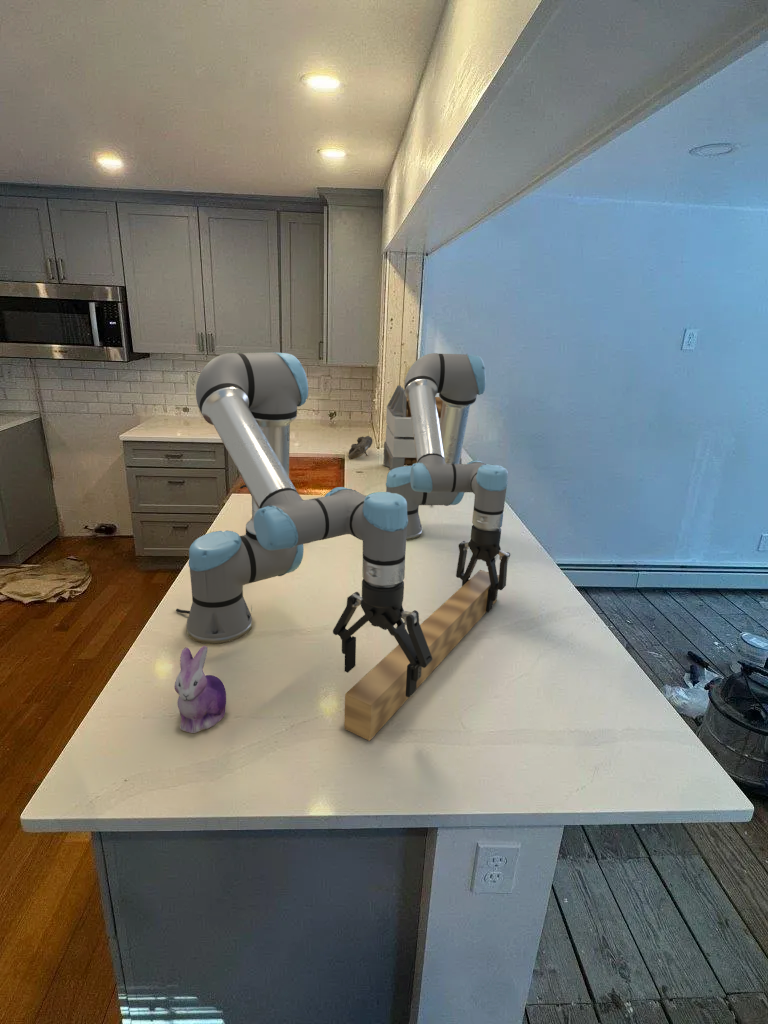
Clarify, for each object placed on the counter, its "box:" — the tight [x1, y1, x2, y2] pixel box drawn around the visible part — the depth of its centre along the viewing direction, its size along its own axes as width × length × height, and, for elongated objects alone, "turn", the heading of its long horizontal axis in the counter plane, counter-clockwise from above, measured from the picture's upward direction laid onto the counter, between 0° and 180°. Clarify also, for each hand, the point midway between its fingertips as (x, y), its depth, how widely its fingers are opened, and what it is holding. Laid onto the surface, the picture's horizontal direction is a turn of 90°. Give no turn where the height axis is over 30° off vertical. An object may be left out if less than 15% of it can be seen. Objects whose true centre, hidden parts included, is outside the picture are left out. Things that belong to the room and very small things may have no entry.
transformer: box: [383, 384, 463, 471], centre depth 268 cm, size 34×33×41 cm
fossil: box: [347, 435, 373, 460], centre depth 301 cm, size 22×10×15 cm
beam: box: [343, 569, 499, 742], centre depth 130 cm, size 65×6×8 cm, turn 149°
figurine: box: [174, 645, 227, 734], centre depth 105 cm, size 9×10×15 cm
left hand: (379, 680), depth 108 cm, fingers open, 13 cm apart
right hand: (477, 606), depth 152 cm, fingers closed on beam, 6 cm apart
